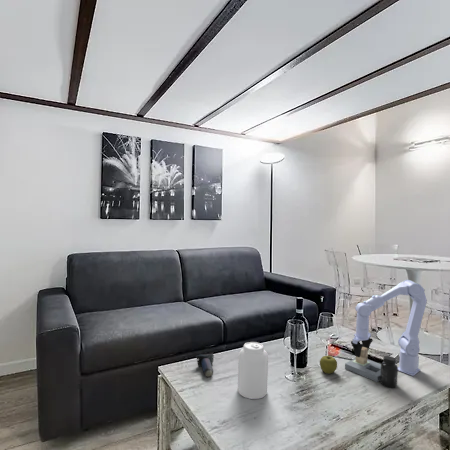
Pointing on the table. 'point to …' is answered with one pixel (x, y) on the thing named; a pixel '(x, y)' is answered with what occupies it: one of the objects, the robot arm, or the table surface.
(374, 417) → the table surface
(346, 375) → the table surface
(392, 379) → the supplement bottle
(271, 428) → the table surface
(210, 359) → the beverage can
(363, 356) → the beech block
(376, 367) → the pocket board
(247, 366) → the can
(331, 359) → the apple
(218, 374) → the table surface
